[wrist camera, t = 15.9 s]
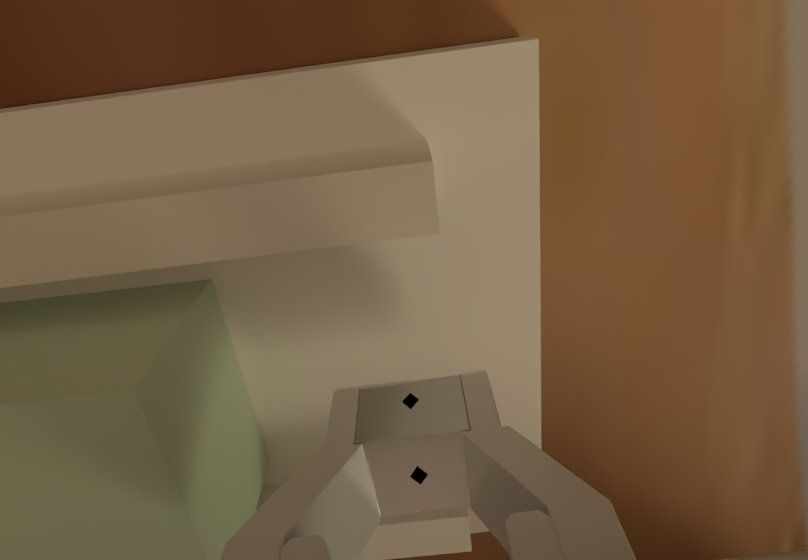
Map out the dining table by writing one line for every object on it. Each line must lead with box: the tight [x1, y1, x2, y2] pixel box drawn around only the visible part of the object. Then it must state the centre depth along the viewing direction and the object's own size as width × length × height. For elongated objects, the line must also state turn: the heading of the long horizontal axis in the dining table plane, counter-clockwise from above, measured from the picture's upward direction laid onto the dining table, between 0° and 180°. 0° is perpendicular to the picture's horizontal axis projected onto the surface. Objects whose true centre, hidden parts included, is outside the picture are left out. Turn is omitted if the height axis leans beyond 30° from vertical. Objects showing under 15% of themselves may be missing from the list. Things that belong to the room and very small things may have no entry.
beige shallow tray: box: [0, 37, 541, 560], centre depth 10 cm, size 18×12×6 cm, turn 97°
